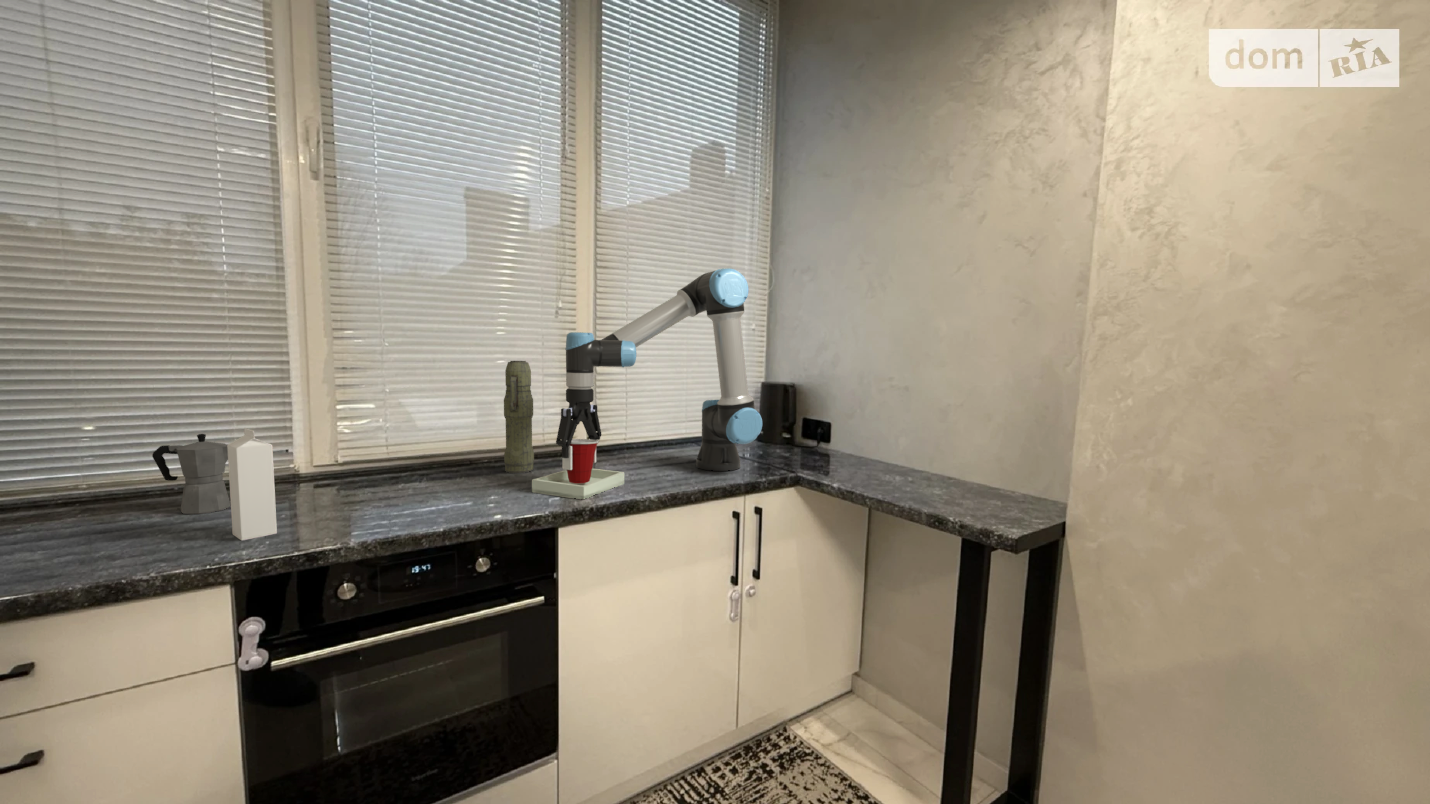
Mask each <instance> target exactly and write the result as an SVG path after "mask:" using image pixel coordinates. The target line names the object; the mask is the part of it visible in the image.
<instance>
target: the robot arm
mask: <svg viewBox="0 0 1430 804" xmlns="http://www.w3.org/2000/svg"><path fill="white" fill-rule="evenodd" d="M748 296H749V283H748V282H747V279H746V278H745V276H744V275H743V273H741V272H740V271H738V270H736V269H734V268H729V267H727V268H720V269H719V268H717V269H716V270H713V271H710V272H705V273H703V274H701V275H700V276H698V277H697V278H695V279H694V280H692V281H691V282H689V283H688V284H687V285H685V286H684V287H682V288H680V289H678V291H677V293H676V295H675V296H673V297H672V298H670V299H668V300H666V301H665V302H662V303H661V304H660V305H658V306H655V308H652V309H651V310H650V311H648V312H646V313H644V314H643V315H641V316H639V317H637V318H636V319H634V320H632V321H630V322H629V323H627V324H626V325H624V326H622V327H620V328H619V329H617V330H615V331H613V332H612V333H611V334H609V335H607V336H606V337H603V338H602V339H595V336H594V333H592V332H578V331H573V332H568V333H567V334H566V337H565V338H566V340H565V374H566V375H565V376H566V378H565V382H566V383H565V385H566V387H567V388H566V390H565V401H566V402H567V403H568V407H567V408H564V407H562V408H561V409H560V422H559V426H558V431H557V435H556V439H555V444H556V445H558V446H561V458H562V464H561V466H562V470H572V446H570V444H571V441H572V439H574V434H575V433H576V431H577V430H576V429H577V426H578V425H580V423H581V422H582V424H583V427H584V429H585V432H586V434H587V436H588V439H592V440H598V441H600V440H601V437H602V430H601V425H600V420H599V414H598V405H597V404H591V403H592V402H594V400H595V399H594V397H595V396H594V389H593V387H595V386H594V385H595V382H594V381H595V380H594V379H595V377H594V376H595V375H594V373H595V372H594V371H595V370H594V368H595V367H598V368H599V367H603V368H604V367H606V368H611V367H612V368H614V367H615V368H627V367H633V366H634V365H635V364H636V361H637V348H638V347H639V346H641V345H643V344H644V343H647V341H649V340H652V339H653V338H655V337H656V336H658V335H660V334H661V333H663V332H664V331H666V330H669V328H671V327H673V326H674V325H676V324H677V323H678V324H679V322H681V321H682V320H684V319H686V318H687V317H691V318H692V317H693V318H694V317H695V316H697V315H699V314H701V313H703V312H706V317H707V318H708V319H710V320H711V321H712V325H713V326H712V327H713V328H712V329H713V336H714V337H713V338H714V346H715V354H716V362H717V370H718V372H717V373H718V378H719V379H718V381H719V389H720V398H719V399H707V400H704V401H703V403H702V407H701V445H700V448H699V451H698V453H697V455H696V456H697V457H696V460H695V467H696V468H697V469H700V470H705V471H711V470H713V471H715V472H728V470H730V471H737V470H738V469H740V468H741V458H740V455H739V452H738V451H739V450H738V448H737V445H738V444H739V445H747V444H750V443H752V442H754V441H755V440H756V439H757V438H758V436H759V435H760V434H761V432H762V429H763V419H762V416H761V413H760V412H758V411H757V409H756V407H755V400H754V397H753V396H751V395H750V394H749V389H748V388H749V387H748V380H747V372H746V371H747V370H746V368H747V367H746V362H745V361H746V359H745V351H744V349H745V348H744V341H743V334H742V333H743V332H742V325H741V323H742V322H741V318H742V316H743V314H744V313H745V304H744V303H745V302H746V300H747V298H748ZM566 441H567V442H566ZM736 444H737V445H736ZM597 447H598V446H597ZM597 447H596V451H595V455H594V461H593V464H595V463H597ZM713 471H712V472H713Z"/></svg>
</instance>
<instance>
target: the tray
mask: <svg viewBox="0 0 1430 804" xmlns="http://www.w3.org/2000/svg"><path fill="white" fill-rule="evenodd" d="M623 485H625V471H617V470H609V469H599V468H594V467H592V471H591V478H590V481H589V482H586V483H571V482H569V479H568V474H567V470H566V469H562V470H560V471H557V472H553V473H550V474H546V475H544V476H540V477H537V478H533V479H531V493H532V494H533V493H534V494H541V495H548V496H555V497H560V498H561V497H562V498H569V499H574V498H576V499H575V500H581V499H585V498H587V499H590V498H592V497H594V496H593V495H595V494H598V495H600V494H602V493H601V492H603V493H605V492H607V491H610V490H613V489H615V488H617V487H620V486H623ZM614 487H615V488H614ZM612 488H613V489H612ZM604 491H605V492H604ZM591 496H592V497H591ZM595 496H596V495H595ZM589 497H590V498H589ZM585 500H586V499H585Z"/></svg>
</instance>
